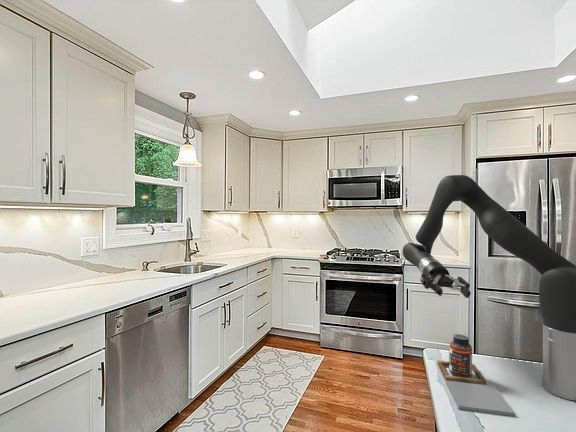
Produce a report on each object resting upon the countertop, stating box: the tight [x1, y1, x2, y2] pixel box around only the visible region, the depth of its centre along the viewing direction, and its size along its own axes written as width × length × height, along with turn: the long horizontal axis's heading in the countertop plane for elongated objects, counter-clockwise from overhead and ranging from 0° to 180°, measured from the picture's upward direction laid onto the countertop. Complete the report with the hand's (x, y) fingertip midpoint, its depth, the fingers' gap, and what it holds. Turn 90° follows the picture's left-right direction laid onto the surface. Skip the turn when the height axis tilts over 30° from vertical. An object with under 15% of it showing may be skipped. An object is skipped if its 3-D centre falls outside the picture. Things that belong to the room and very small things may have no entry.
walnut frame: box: [436, 360, 488, 385], centre depth 94 cm, size 10×10×1 cm
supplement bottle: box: [448, 334, 473, 378], centre depth 94 cm, size 6×6×11 cm
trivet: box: [445, 381, 515, 417], centre depth 82 cm, size 12×12×1 cm
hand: (454, 294), depth 99 cm, fingers open, 8 cm apart
